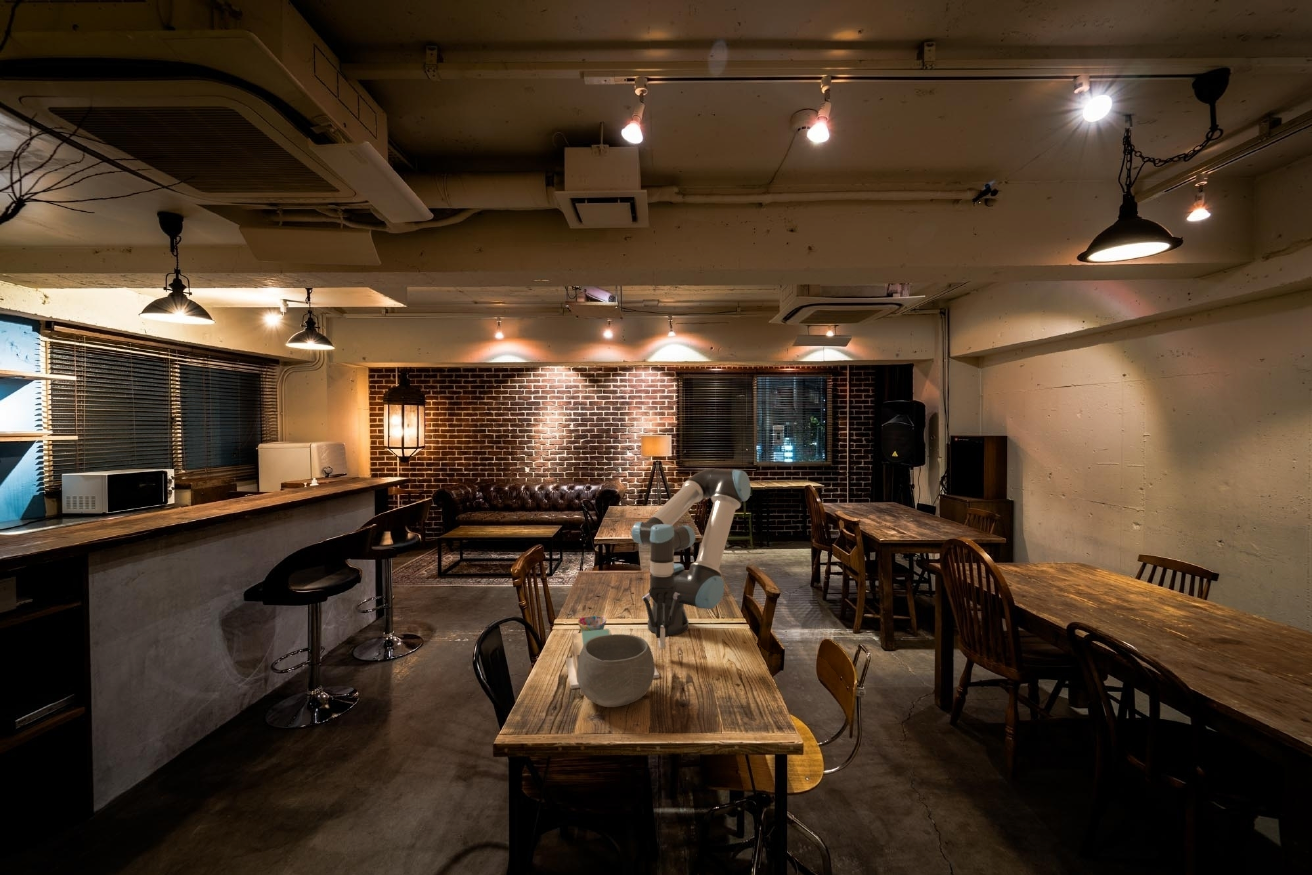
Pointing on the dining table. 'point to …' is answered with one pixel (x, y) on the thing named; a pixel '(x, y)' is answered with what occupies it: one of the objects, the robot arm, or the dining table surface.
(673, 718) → the dining table surface
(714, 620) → the dining table surface
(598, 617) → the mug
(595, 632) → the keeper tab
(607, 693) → the bowl
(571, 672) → the block
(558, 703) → the dining table surface
